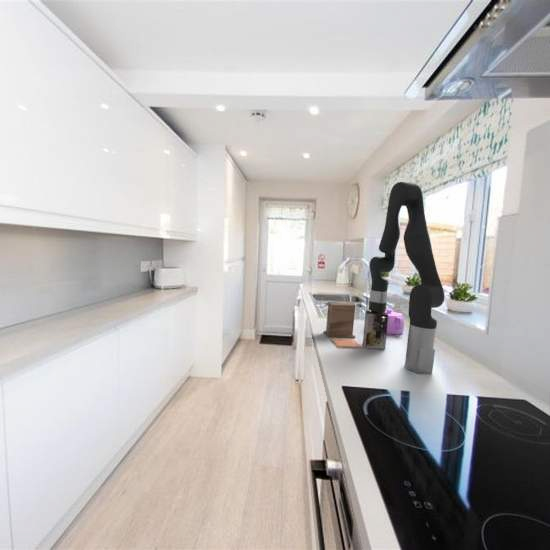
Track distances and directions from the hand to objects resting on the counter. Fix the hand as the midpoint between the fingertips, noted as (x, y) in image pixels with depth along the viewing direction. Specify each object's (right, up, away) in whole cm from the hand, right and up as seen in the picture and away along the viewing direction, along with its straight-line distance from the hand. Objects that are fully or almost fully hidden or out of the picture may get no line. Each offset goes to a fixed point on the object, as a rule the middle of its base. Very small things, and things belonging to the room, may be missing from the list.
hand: (374, 335), depth 139 cm
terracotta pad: (-13, -4, +2) cm, 14 cm away
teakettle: (+16, -4, +30) cm, 34 cm away
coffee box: (0, -5, +1) cm, 5 cm away
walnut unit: (-13, -3, +15) cm, 20 cm away
